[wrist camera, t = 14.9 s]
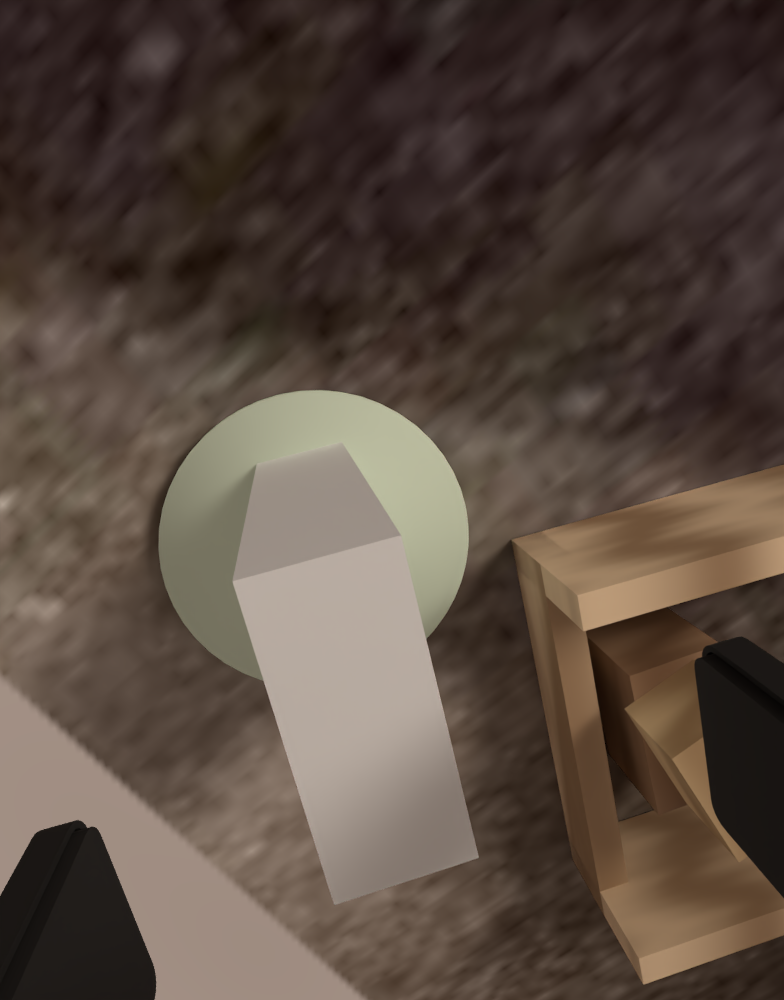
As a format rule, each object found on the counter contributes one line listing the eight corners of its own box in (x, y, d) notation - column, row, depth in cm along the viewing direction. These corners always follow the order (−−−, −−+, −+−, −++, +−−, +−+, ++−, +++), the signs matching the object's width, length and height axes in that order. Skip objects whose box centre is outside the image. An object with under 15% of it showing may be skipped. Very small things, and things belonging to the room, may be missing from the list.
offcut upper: (693, 659, 24) (751, 702, 21) (752, 756, 25) (813, 810, 22) (624, 708, 24) (671, 758, 21) (686, 803, 25) (738, 862, 22)
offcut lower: (659, 602, 28) (720, 644, 24) (682, 725, 29) (743, 783, 25) (580, 629, 27) (629, 676, 23) (608, 753, 29) (658, 815, 25)
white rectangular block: (341, 441, 23) (401, 535, 12) (387, 622, 25) (478, 857, 14) (256, 463, 23) (232, 581, 12) (309, 645, 25) (334, 905, 13)
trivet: (430, 357, 24) (434, 357, 23) (489, 635, 27) (493, 641, 26) (118, 433, 23) (113, 435, 22) (212, 714, 25) (211, 723, 25)
